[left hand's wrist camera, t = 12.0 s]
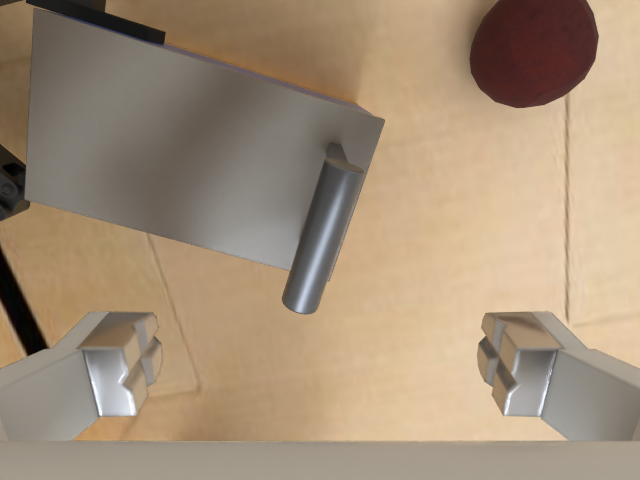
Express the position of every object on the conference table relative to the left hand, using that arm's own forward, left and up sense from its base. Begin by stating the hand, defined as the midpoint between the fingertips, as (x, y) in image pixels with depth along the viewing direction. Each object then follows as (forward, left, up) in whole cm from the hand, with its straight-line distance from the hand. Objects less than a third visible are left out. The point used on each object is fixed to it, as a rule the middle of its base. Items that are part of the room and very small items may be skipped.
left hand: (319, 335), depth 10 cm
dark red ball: (+16, -2, -25) cm, 30 cm away
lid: (-4, +5, -14) cm, 16 cm away
